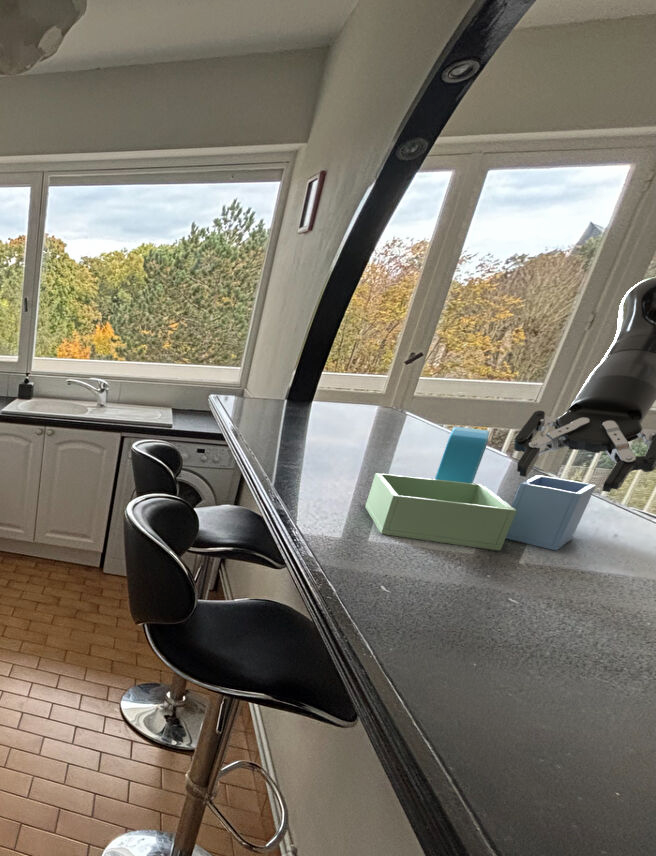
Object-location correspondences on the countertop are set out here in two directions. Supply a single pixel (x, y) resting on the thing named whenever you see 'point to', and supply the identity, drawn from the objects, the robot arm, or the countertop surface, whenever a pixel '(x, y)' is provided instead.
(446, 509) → the green tote
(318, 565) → the countertop surface
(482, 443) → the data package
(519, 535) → the small bin
